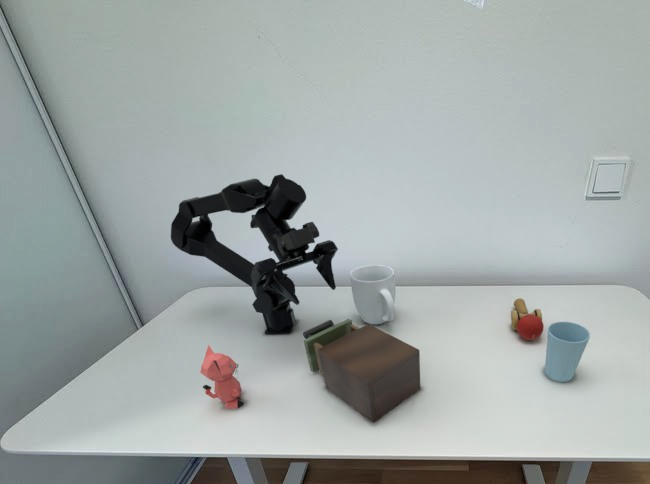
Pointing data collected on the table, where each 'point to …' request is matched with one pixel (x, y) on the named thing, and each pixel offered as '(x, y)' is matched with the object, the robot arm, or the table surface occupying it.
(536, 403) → the table surface
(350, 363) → the cabinet
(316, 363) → the drawer
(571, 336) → the cup
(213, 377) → the cat figurine
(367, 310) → the mug
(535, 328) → the kendama
